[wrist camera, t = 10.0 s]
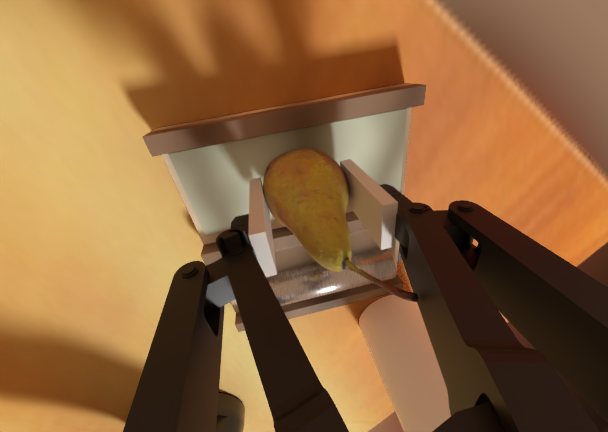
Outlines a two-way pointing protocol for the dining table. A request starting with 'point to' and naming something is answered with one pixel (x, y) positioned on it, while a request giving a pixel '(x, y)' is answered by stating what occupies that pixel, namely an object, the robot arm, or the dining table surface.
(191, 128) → the rack
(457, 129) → the dining table surface
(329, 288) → the rod
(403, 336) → the cup
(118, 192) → the dining table surface
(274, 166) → the fruit
